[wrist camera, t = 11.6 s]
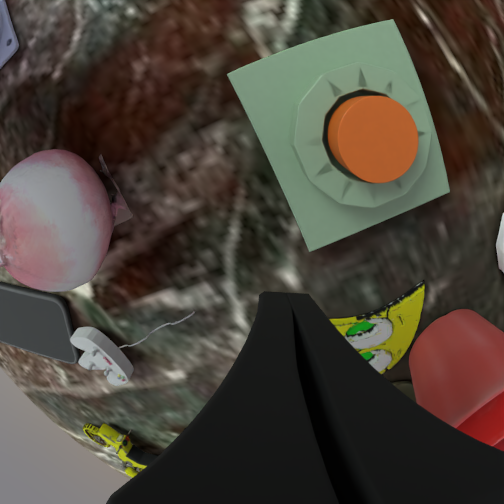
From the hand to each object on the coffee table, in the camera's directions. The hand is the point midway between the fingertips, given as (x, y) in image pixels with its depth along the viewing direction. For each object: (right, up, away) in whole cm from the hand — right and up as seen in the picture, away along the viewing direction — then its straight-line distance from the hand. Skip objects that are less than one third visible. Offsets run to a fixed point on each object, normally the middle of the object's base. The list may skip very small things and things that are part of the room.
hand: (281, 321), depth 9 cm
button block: (+4, +9, +7) cm, 12 cm away
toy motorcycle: (-17, -23, +21) cm, 36 cm away
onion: (-12, +5, +9) cm, 16 cm away
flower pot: (+16, -6, +14) cm, 22 cm away
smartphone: (-23, -4, +13) cm, 26 cm away
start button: (+4, +7, +4) cm, 9 cm away
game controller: (-10, -5, +14) cm, 18 cm away
